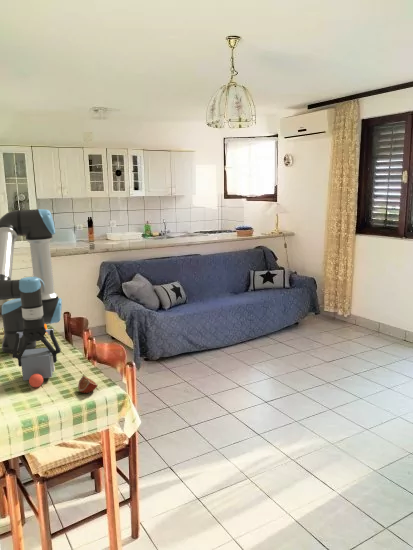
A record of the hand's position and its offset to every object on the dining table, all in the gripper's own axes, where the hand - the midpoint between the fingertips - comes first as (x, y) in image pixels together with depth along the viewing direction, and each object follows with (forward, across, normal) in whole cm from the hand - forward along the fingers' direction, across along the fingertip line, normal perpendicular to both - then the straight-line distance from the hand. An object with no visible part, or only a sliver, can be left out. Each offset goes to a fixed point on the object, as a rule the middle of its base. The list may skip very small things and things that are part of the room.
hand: (38, 372), depth 176 cm
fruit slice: (+3, +19, -18) cm, 27 cm away
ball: (0, 0, -8) cm, 8 cm away
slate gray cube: (+1, 0, 0) cm, 1 cm away
